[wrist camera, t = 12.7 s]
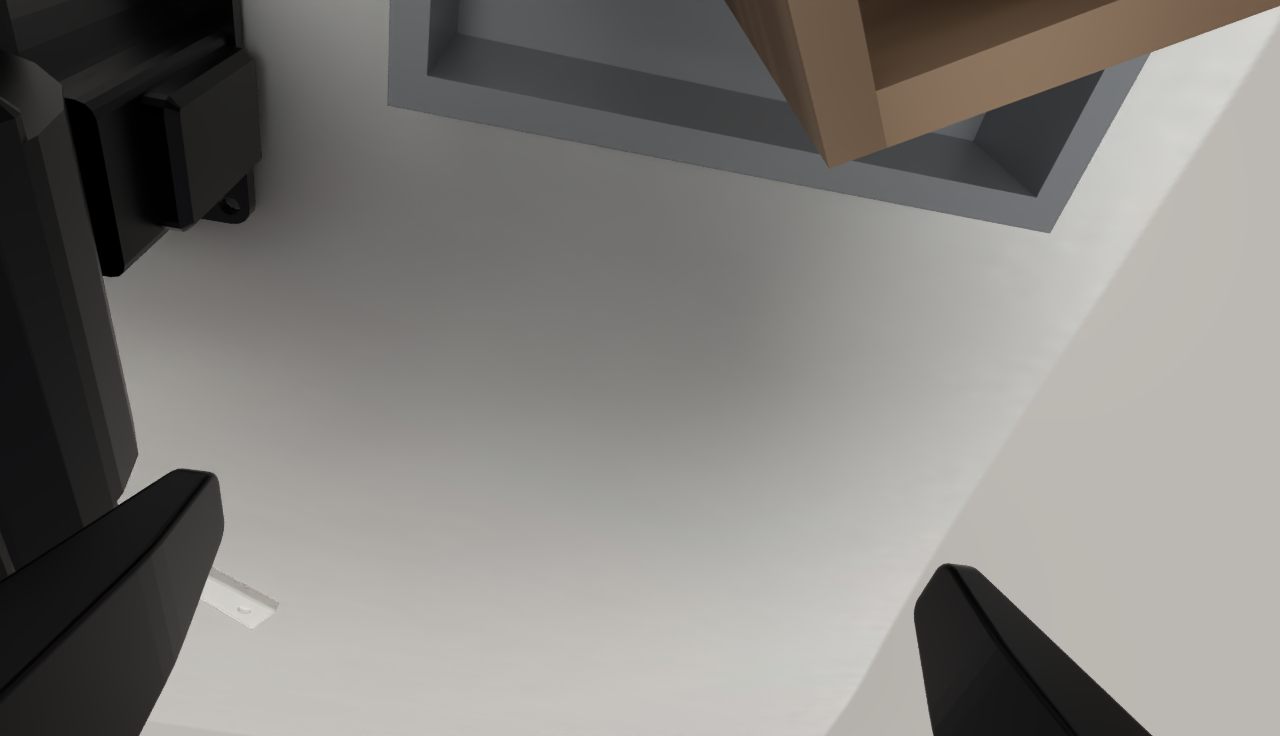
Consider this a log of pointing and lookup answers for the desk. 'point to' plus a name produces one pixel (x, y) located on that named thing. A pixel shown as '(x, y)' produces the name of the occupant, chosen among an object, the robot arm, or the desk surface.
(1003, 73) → the walnut crate
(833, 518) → the desk surface
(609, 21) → the tray
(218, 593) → the white angle bracket
